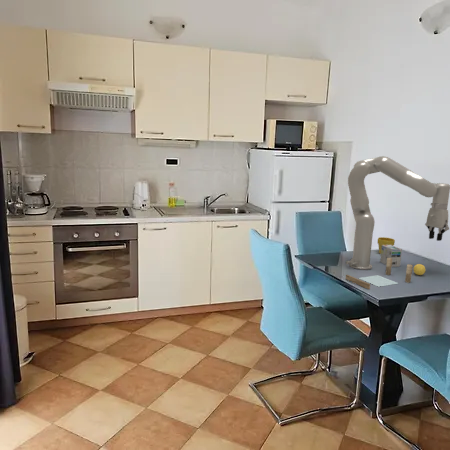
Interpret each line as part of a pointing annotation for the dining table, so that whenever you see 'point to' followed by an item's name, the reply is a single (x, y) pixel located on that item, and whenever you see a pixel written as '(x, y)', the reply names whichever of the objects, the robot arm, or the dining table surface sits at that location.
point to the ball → (419, 269)
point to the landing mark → (378, 280)
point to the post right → (408, 273)
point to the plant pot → (385, 242)
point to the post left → (388, 266)
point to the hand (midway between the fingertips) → (435, 239)
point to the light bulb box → (391, 255)
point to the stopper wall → (358, 281)
